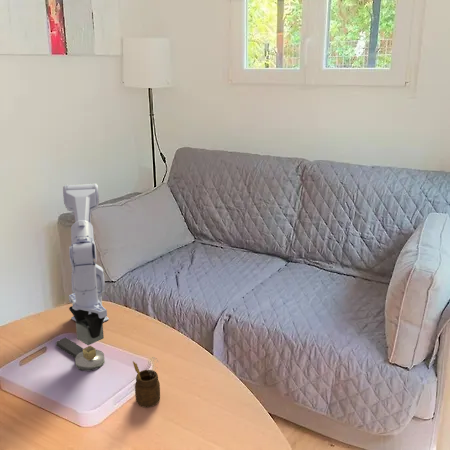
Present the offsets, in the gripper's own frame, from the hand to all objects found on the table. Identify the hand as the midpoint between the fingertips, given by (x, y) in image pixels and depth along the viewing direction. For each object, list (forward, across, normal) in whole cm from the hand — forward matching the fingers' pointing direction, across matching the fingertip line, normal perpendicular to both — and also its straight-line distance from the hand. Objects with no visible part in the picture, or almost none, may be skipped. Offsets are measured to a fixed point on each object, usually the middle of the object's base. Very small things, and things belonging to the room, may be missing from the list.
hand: (89, 333), depth 137 cm
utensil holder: (+9, +24, -1) cm, 26 cm away
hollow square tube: (+2, 0, 0) cm, 2 cm away
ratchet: (+8, -5, -1) cm, 10 cm away
